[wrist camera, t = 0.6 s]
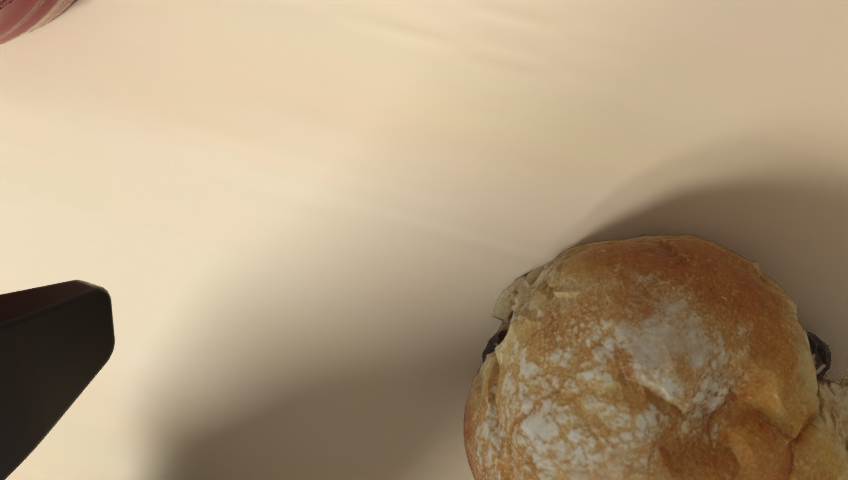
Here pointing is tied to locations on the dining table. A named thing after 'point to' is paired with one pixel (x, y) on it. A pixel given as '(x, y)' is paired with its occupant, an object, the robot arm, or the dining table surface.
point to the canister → (27, 16)
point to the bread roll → (653, 372)
